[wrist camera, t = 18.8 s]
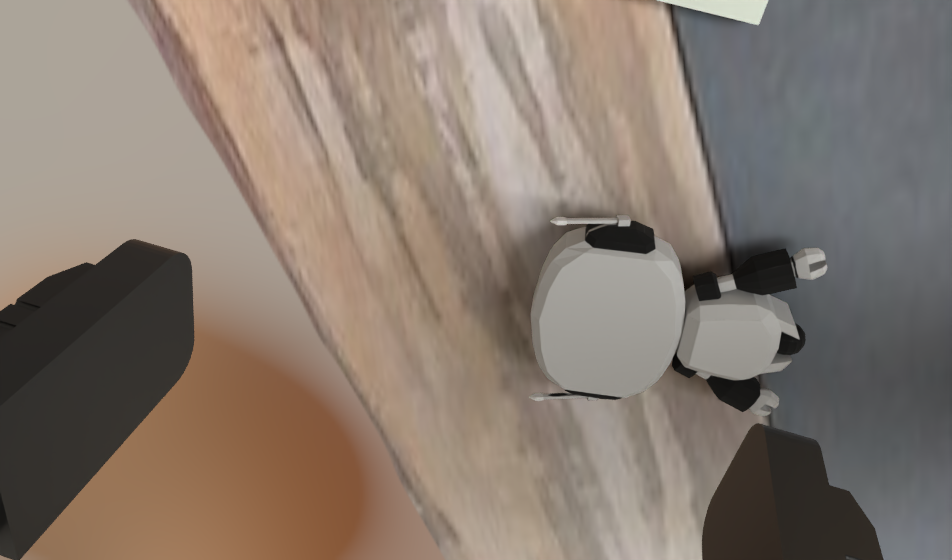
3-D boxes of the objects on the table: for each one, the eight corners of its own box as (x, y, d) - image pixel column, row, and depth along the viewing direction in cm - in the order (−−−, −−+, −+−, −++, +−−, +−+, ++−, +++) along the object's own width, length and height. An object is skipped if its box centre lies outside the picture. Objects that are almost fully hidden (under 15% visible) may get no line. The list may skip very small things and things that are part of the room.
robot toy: (826, 217, 40) (546, 185, 41) (848, 259, 36) (540, 223, 38) (766, 391, 47) (526, 359, 48) (780, 443, 43) (519, 406, 44)
